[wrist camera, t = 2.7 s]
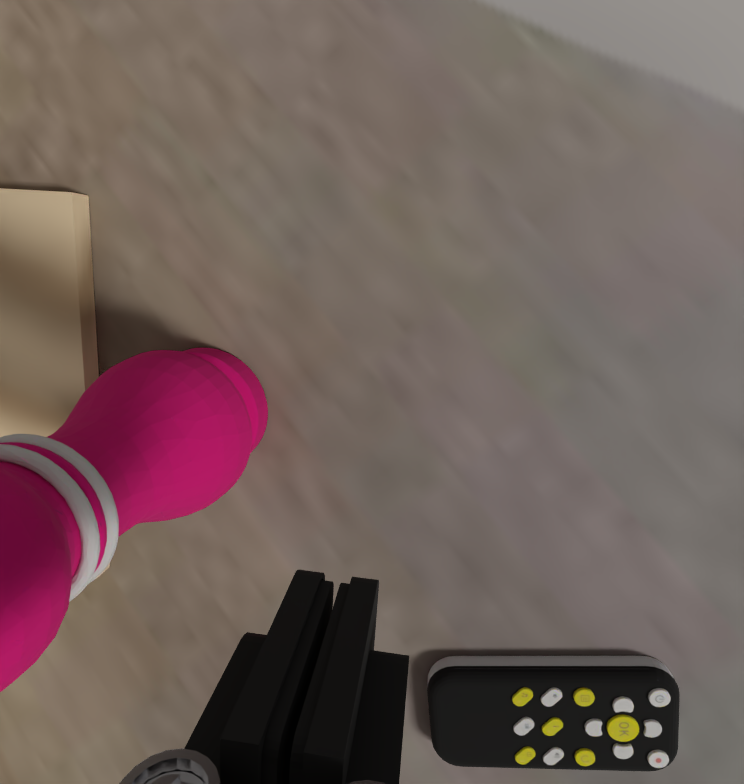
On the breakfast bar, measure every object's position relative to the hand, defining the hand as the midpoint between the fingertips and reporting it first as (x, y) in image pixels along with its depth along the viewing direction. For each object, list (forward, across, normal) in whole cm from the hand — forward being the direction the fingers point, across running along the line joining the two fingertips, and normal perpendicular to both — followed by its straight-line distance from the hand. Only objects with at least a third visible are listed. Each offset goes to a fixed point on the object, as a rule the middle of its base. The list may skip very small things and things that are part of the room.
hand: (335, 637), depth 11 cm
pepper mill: (+16, +10, +1) cm, 19 cm away
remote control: (+17, -9, +16) cm, 25 cm away
